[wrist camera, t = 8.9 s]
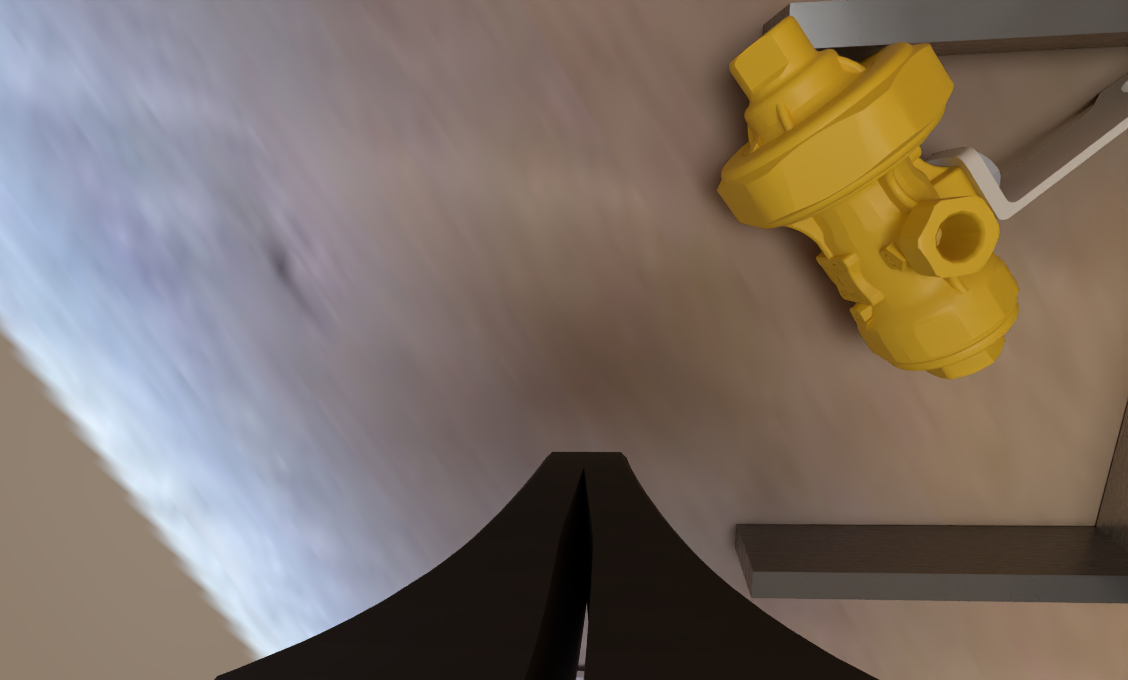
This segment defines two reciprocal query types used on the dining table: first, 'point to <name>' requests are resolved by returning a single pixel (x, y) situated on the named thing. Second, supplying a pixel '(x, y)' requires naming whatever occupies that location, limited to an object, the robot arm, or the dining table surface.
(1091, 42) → the flange dock
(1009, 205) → the pressure relief valve
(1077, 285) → the dining table surface
